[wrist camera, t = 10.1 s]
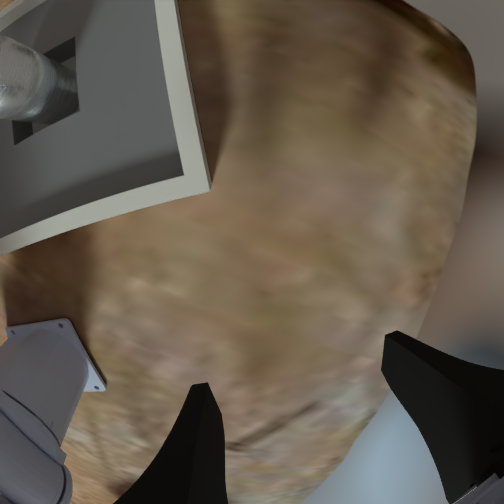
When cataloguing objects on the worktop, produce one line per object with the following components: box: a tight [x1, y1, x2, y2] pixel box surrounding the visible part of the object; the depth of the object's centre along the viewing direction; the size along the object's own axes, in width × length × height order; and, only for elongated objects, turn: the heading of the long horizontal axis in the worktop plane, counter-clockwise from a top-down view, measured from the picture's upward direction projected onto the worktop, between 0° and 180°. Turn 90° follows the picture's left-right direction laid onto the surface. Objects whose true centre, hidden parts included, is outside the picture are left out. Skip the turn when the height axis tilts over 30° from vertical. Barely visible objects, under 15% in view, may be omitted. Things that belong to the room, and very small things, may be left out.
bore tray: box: [0, 0, 212, 256], centre depth 12 cm, size 18×18×5 cm
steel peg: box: [0, 36, 79, 125], centre depth 9 cm, size 4×4×8 cm
